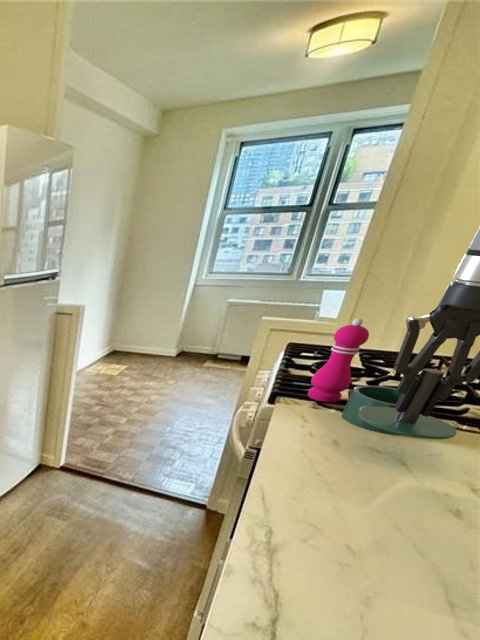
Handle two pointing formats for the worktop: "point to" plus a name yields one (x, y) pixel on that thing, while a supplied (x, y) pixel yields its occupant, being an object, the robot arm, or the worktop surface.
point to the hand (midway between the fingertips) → (411, 411)
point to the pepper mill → (338, 363)
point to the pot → (369, 404)
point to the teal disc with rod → (412, 413)
